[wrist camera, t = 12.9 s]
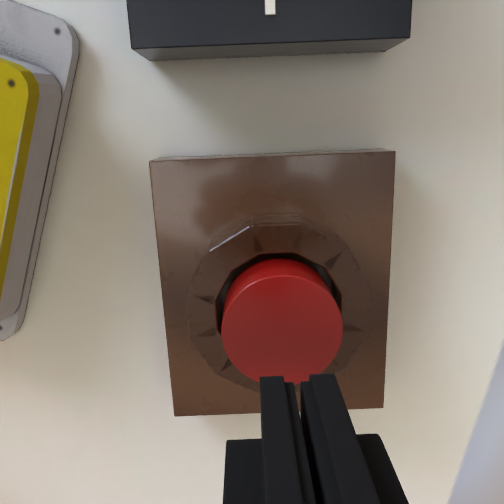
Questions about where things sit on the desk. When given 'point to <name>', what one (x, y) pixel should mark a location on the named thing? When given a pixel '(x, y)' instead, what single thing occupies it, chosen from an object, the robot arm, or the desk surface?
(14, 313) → the emergency button
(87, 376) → the desk surface
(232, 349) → the button
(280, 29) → the panel
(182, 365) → the button block
